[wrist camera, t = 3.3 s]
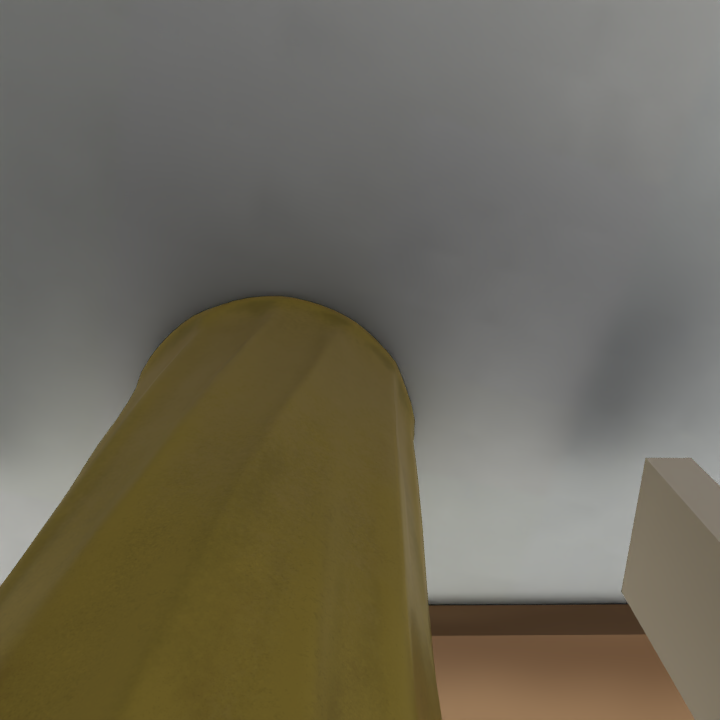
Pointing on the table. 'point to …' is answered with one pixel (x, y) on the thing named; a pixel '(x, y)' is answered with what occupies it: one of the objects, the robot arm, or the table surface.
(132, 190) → the table surface
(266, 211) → the table surface
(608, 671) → the socket board
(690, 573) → the robot arm
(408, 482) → the vase
